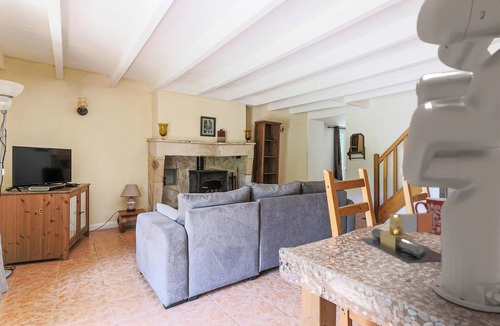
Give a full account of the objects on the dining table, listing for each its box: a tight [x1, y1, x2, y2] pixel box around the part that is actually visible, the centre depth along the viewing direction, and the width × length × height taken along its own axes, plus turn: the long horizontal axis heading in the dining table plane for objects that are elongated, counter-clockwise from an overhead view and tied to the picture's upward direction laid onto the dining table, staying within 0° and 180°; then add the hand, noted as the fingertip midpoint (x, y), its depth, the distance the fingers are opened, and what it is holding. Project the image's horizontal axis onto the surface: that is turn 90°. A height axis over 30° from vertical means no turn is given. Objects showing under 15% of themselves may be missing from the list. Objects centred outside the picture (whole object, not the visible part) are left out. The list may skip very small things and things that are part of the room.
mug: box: [414, 197, 447, 236], centre depth 105 cm, size 13×9×14 cm
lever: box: [389, 212, 432, 234], centre depth 84 cm, size 14×4×6 cm, turn 99°
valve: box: [361, 227, 441, 264], centre depth 84 cm, size 22×14×5 cm, turn 9°
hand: (432, 183), depth 78 cm, fingers closed
